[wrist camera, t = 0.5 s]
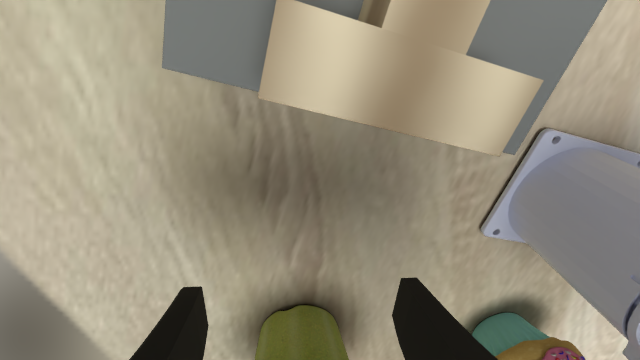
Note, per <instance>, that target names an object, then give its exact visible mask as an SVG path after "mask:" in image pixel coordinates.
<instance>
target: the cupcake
mask: <svg viewBox="0 0 640 360" xmlns="http://www.w3.org/2000/svg"><path fill="white" fill-rule="evenodd" d="M472 336H473V337H474V338H475V339H476V340H477V341H478V342H479V343H480V344H482V345H483V346H484V347H485V348H486V349H487V350H488V351H489V352H490V353H491V354H492V355H494V356H495V357H496V358H497V359H498V360H585V358H584V357H583V355H582V354H581V353H580V352H579V350H578V349H577V348H576V347H575V346H574V345H573V344H572V343H570V342H569V341H561V340H559V339H557V338H554V337H549V336H547V335H546V334H544V333H542V332H541V331H539V330H538V329H537V328H535V327H534V326H532V325H531V324H530V323H528V322H527V321H526V320H525V319H523V318H522V317H521V316H519V315H517V314H515V313H500V314H496V315H493V316H491V317H489V318H487V319H485V320H484V321H482V322H481V323H480V324H479V325H478V326H477V327H476V328H475V330H474V331H473V334H472Z"/></svg>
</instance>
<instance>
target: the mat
mask: <svg viewBox="0 0 640 360" xmlns="http://www.w3.org/2000/svg"><path fill="white" fill-rule="evenodd" d="M295 1H299V2H302V3H305V4H308V5H311V6H314V7H317V8H320V9H323V10H327V11H330V12H333V13H336V14H339V15H342V16H345V17H348V18H351V19H355V20H358V18H359V14H360V11H361V8H362V4H363V1H364V0H295ZM606 2H607V0H490V3H489V5H488V7H487V9H486V11H485V14H484V16H483V18H482V20H481V22H480V24H479V27H478V29H477V31H476V33H475V35H474V38H473V40H472V42H471V44H470V46H469V49H468V51H467V53H466V55H467V56H470V57H473V58H476V59H479V60H482V61H485V62H489V63H492V64H495V65H498V66H501V67H504V68H507V69H510V70H513V71H517V72H520V73H523V74H526V75H529V76H532V77H535V78H538V79H541V80H544V81H543V83H542V84H541V86H540V88H539V90H538V91H537V93H536V95H535V96H534V98H533V100H532V102H531V103H530V105H529V107H528V108H527V110H526V112H525V114H524V115H523V117H522V119H521V121H520V122H519V124H518V126H517V127H516V129H515V131H514V133H513V134H512V136H511V138H510V139H509V141H508V143H507V145H506V146H505V148H504V150H503V152H504V153H508V154H512V155H515V153H516V152H517V150H518V148H519V147H520V145H521V143H522V142H523V140H524V138H525V137H526V135H527V133H528V132H529V130H530V128H531V127H532V125H533V123H534V122H535V120H536V118H537V117H538V115H539V113H540V112H541V110H542V108H543V107H544V105H545V103H546V102H547V100H548V98H549V97H550V95H551V93H552V92H553V90H554V88H555V87H556V85H557V83H558V82H559V80H560V78H561V77H562V75H563V73H564V72H565V70H566V68H567V67H568V65H569V63H570V62H571V60H572V58H573V57H574V55H575V53H576V52H577V50H578V48H579V47H580V45H581V43H582V42H583V40H584V38H585V37H586V35H587V33H588V32H589V30H590V28H591V27H592V25H593V23H594V22H595V20H596V18H597V17H598V15H599V13H600V12H601V10H602V8H603V7H604V5H605V3H606ZM275 5H276V0H166V5H165V23H164V42H163V61H162V68H164V69H168V70H172V71H176V72H180V73H185V74H189V75H193V76H197V77H201V78H205V79H209V80H213V81H217V82H221V83H225V84H229V85H233V86H237V87H241V88H245V89H249V90H253V91H257V92H259V89H260V84H261V79H262V73H263V68H264V63H265V58H266V52H267V47H268V42H269V37H270V31H271V26H272V21H273V16H274V10H275Z"/></svg>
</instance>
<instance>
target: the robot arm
mask: <svg viewBox="0 0 640 360" xmlns="http://www.w3.org/2000/svg"><path fill="white" fill-rule="evenodd" d="M554 137H555V139H554V140H553V138H554ZM552 140H553V141H552ZM494 230H495V231H494ZM481 232H482V233H483V234H484V236H487V237H493V238H499V239H505V240H511V241H517V242H522V243H527V244H528V245H529V246H530V247H531V248H532V249H533V250H535V251H536V252H537V253H538V254H539V255H540V256H541V257H542V258H543V259H544V260H545V261H546V262H547V263H548V264H549V265H550V266H551V267H552V268H553V269H554V270H555V271H557V272H558V273H559V274H560V275H561V276H562V277H563V278H564V279H565V280H566V281H567V282H568V283H569V284H570V285H571V286H572V287H573V288H574V289H575V290H576V291H577V292H578V293H580V294H581V295H582V296H583V297H584V298H585V299H586V300H587V301H588V302H589V303H590V304H591V305H592V306H593V307H594V308H595V309H596V310H597V311H598V312H599V313H600V314H601V315H603V316H604V317H605V318H606V319H607V320H608V321H609V322H610V323H611V324H612V325H613V326H614V327H615V328H616V329H617V330H618V331H619V332H620V333H621V334H622V335H623V336H624V337H626V338H627V339H628V344H627V346H626V348H625V349H624V350H623V354H624V355H625V356H626V357H627V358H628V359H629V360H640V153H636V152H633V151H629V150H626V149H622V148H618V147H615V146H611V145H608V144H604V143H601V142H597V141H593V140H590V139H586V138H583V137H579V136H575V135H572V134H568V133H565V132H561V131H558V130H554V129H550V128H547V129H544V130H543V131H541V132H540V134H539V135H538V137H537V138H536V140H535V141H534V143H533V145H532V146H531V148H530V150H529V151H528V153H527V154H526V156H525V158H524V159H523V161H522V162H521V164H520V166H519V167H518V169H517V171H516V172H515V174H514V175H513V177H512V179H511V180H510V182H509V184H508V185H507V187H506V188H505V190H504V192H503V193H502V195H501V196H500V198H499V200H498V201H497V203H496V205H495V206H494V208H493V209H492V211H491V213H490V214H489V216H488V218H487V219H486V221H485V222H484V224H483V226H482V227H481ZM392 317H393V321H394V325H395V329H396V333H397V337H398V341H399V344H400V347H401V350H402V352H403V355H404V358H405V360H498V359H497V358H496V357H495V356H494V355H492V354H491V353H490V352H489V351H488V350H487V349H486V348H485V347H484V346H483V345H482V344H480V343H479V342H478V341H477V340H476V339H475V338H474V337H473V336H472V335H471V334H470V333H469V332H468V331H467V330H466V329H465V328H464V327H463V326H462V325H461V324H460V323H459V322H458V321H457V320H456V319H455V318H454V317H453V316H452V315H451V314H450V313H449V312H448V311H447V310H446V309H445V308H444V307H443V305H442V304H441V303H440V302H439V301H438V300H437V299H436V298H435V297H434V296H433V295H432V294H431V292H430V291H429V290H428V289H427V288H426V287H425V286H424V285H423V284H422V283H421V282H420V281H419V280H418V279H417V278H401V281H400V285H399V289H398V293H397V297H396V301H395V305H394V310H393V314H392ZM207 331H208V321H207V315H206V309H205V303H204V297H203V291H202V287H183V288H182V289H181V290H180V292H179V293H178V295H177V296H176V298H175V299H174V301H173V302H172V304H171V305H170V307H169V308H168V309H167V311H166V312H165V314H164V315H163V316H162V318H161V319H160V321H159V322H158V323H157V325H156V326H155V327H154V329H153V330H152V331H151V333H150V334H149V335H148V337H147V338H146V339H145V341H144V342H143V343H142V345H141V346H140V347H139V348H138V350H137V351H136V352H135V353H134V355H133V356H132V357H131V358H130V359H129V360H203V356H204V350H205V344H206V338H207Z"/></svg>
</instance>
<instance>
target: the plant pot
mask: <svg viewBox="0 0 640 360" xmlns="http://www.w3.org/2000/svg"><path fill="white" fill-rule="evenodd" d="M255 360H349V359H348V356H347V353H346V350H345V347H344V344H343V341H342V338H341V335H340V332H339V328H338V325H337V323H336V321H335V320H334V318H333V316H332V315H331V314H330V313H329V312H327V311H325V310H323V309H321V308H318V307H314V306H308V305H299V306H296V307H294V308H292V309H290V310H287V311H277V312H275V313H274V314H272V315H271V316H270V317H269V318H268V319H267V320H266V321H265V322H264V324H263V325H262V328H261V331H260V336H259V341H258V346H257V351H256V356H255Z"/></svg>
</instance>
